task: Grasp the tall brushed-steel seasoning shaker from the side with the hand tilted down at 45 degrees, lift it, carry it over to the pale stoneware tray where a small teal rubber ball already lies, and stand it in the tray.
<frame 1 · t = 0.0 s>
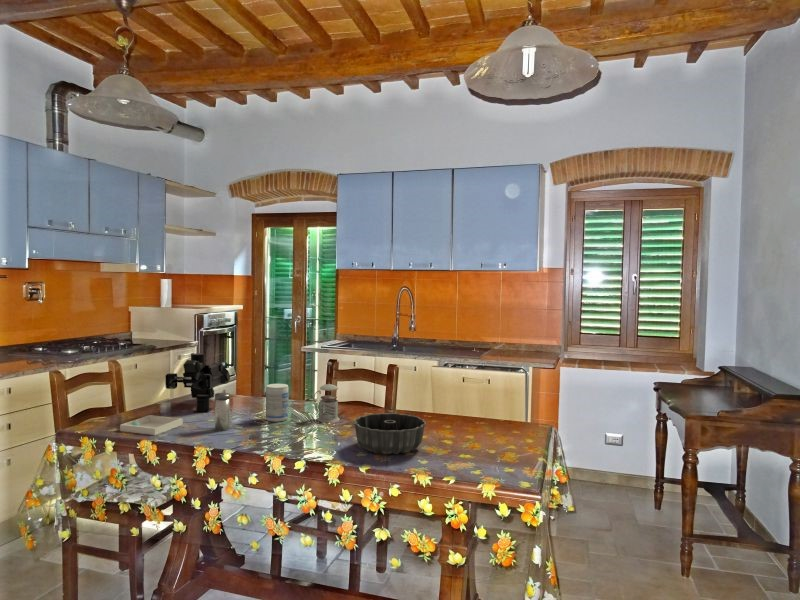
hand: (180, 385, 225), 17 cm above the table, tool horizontal, fingers open, 9 cm apart
shaker: (222, 429, 222), on the table
supplement tub: (276, 419, 239), on the table
tray: (152, 429, 220), on the table
bundt pan: (389, 448, 203), on the table
ball: (135, 429, 218), point 1 cm above the table, touching tray
french press: (326, 419, 241), on the table
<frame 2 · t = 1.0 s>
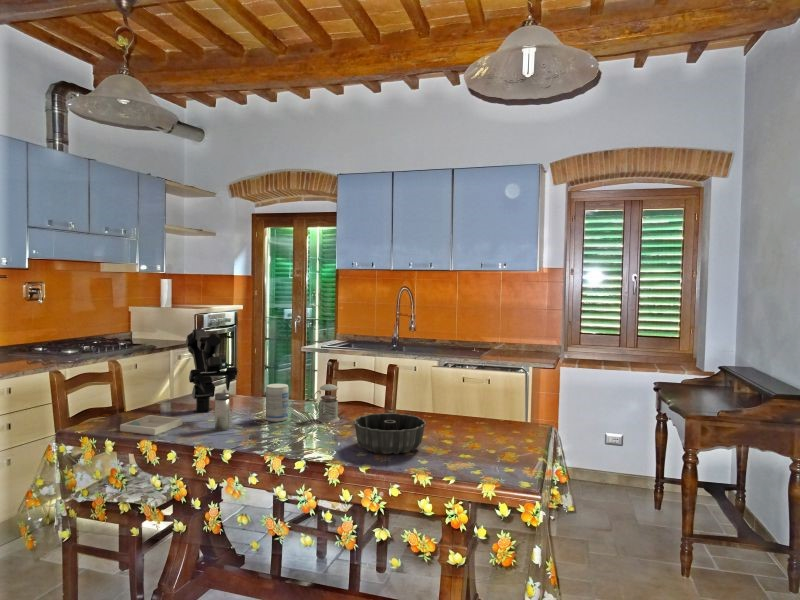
hand: (216, 391, 228), 14 cm above the table, tool tilted 45°, fingers open, 9 cm apart
nothing on the table moved.
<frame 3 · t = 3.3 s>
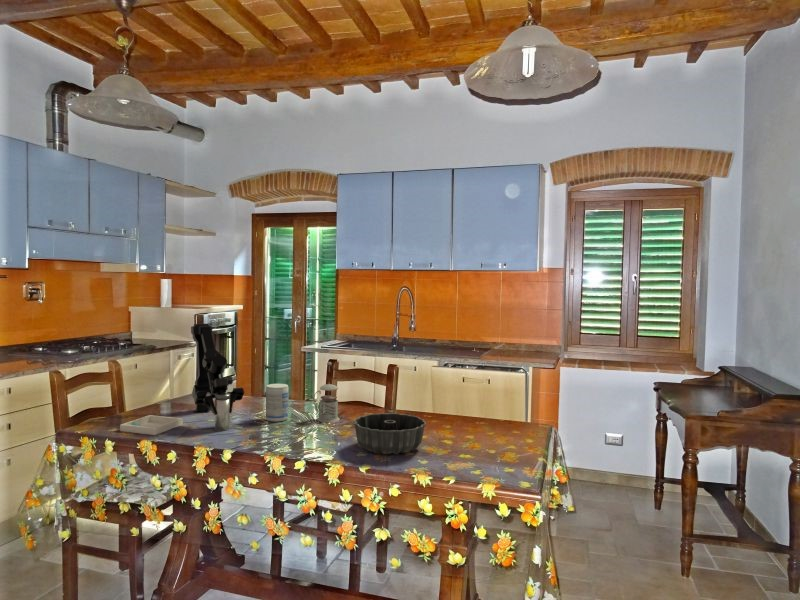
hand: (223, 413, 221), 7 cm above the table, tool tilted 45°, fingers closed on shaker, 5 cm apart
shaker: (222, 429, 222), on the table, touching gripper
everything else where it was.
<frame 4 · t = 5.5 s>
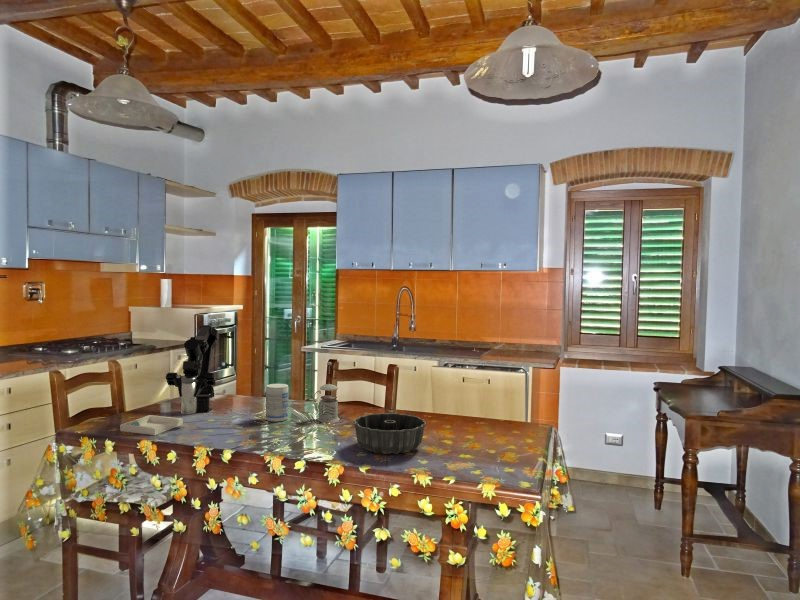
hand: (187, 396, 221), 13 cm above the table, tool tilted 45°, fingers closed on shaker, 5 cm apart
shaker: (188, 412, 223), point 6 cm above the table, touching gripper
everything else where it was.
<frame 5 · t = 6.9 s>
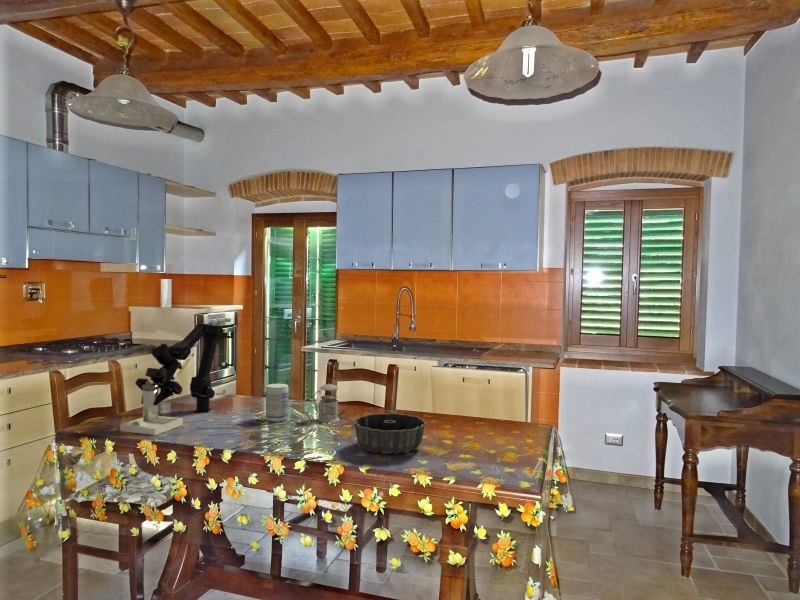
hand: (148, 404, 218), 10 cm above the table, tool tilted 45°, fingers closed on shaker, 5 cm apart
shaker: (150, 420, 219), point 4 cm above the table, touching gripper
everything else where it was.
when the fingers open (8 cm above the table, at t = 7.7 s): shaker drops 1 cm, resting on tray.
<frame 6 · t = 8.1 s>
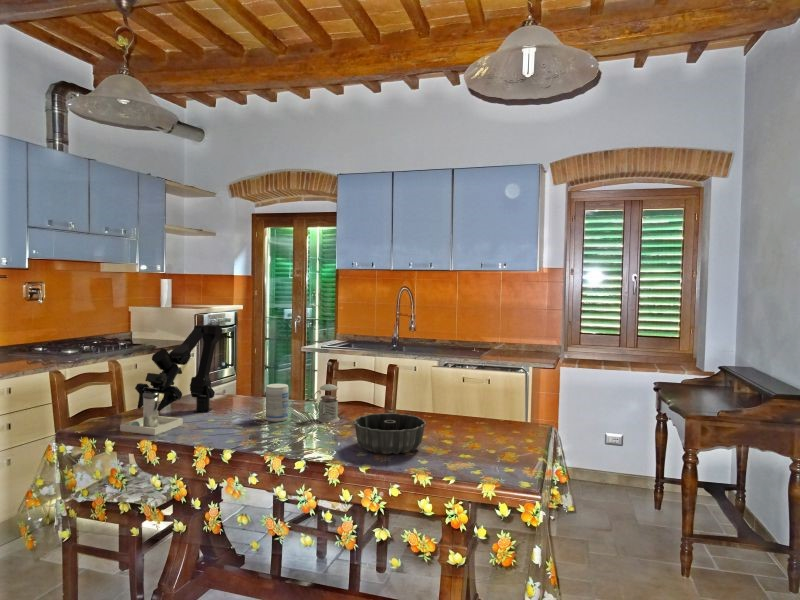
hand: (148, 409, 218), 8 cm above the table, tool tilted 45°, fingers open, 9 cm apart
shaker: (150, 428, 219), point 1 cm above the table, touching tray
everything else where it was.
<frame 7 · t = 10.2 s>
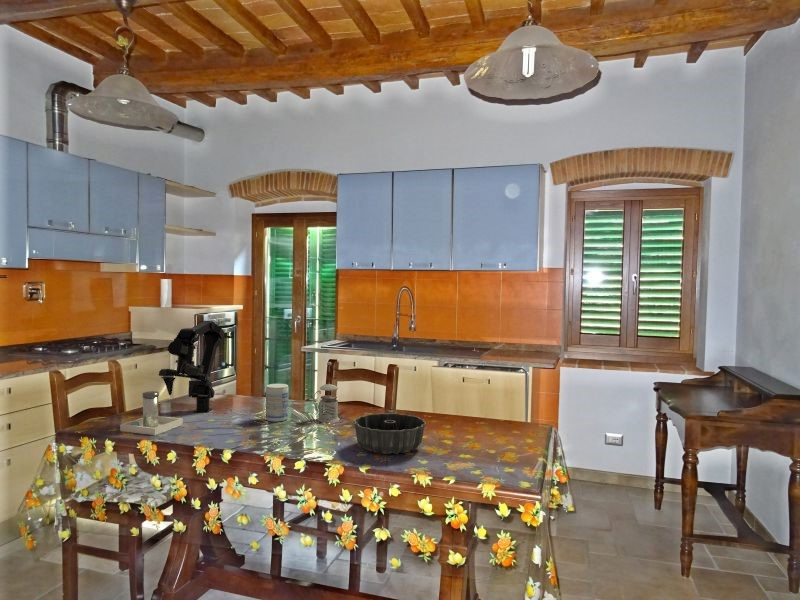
hand: (180, 396, 230), 11 cm above the table, tool tilted 15°, fingers open, 9 cm apart
nothing on the table moved.
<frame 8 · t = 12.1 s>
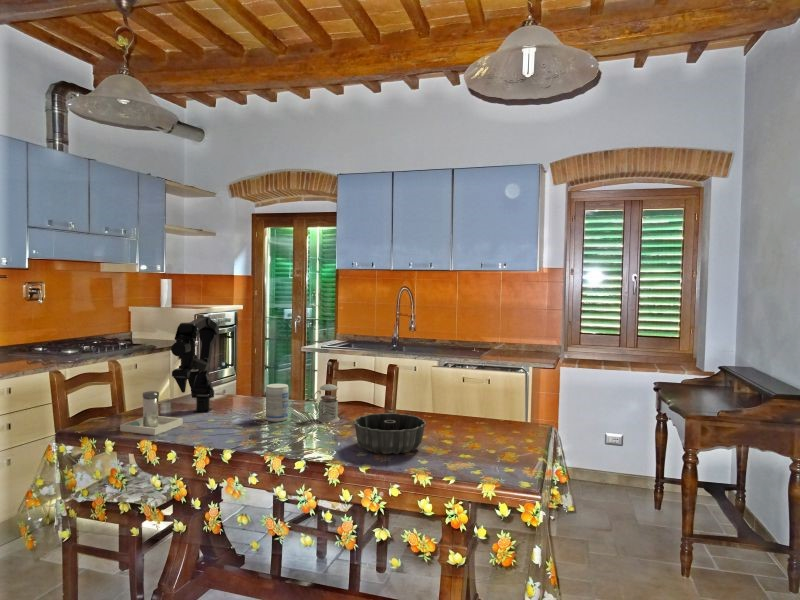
hand: (187, 390, 233), 13 cm above the table, tool pointing down, fingers open, 9 cm apart
nothing on the table moved.
at the end: shaker inside the target area on the tray (1.0 cm from its centre), point 0.7 cm above the tray's base; shaker tilted 1°; the gripper is holding nothing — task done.
